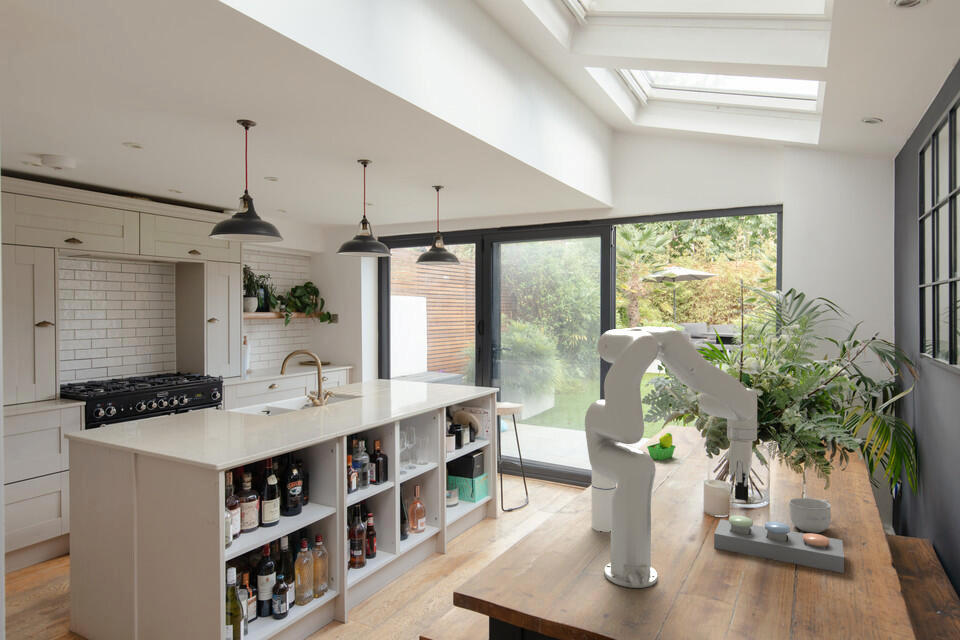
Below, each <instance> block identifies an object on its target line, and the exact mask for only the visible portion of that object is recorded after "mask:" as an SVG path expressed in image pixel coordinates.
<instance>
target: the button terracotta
mask: <svg viewBox="0 0 960 640" xmlns="http://www.w3.org/2000/svg"><path fill="white" fill-rule="evenodd" d="M828 538H829V537H828V536H825V535H822V534H819V533H813V532H807V533H804V535H803V541H804V542H806V545H807V546H813V547H819V548H824V549H826V546H828V545H829V539H828Z"/></svg>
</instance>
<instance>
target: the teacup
mask: <svg viewBox="0 0 960 640" xmlns="http://www.w3.org/2000/svg"><path fill="white" fill-rule="evenodd" d="M788 503H789V516H790V521H791V522H792V524H793V525H794V526H796V528H798V529H799V530H800V531H802V532H807V533H813V534H819V533H822V532H824V531H826V530H828V528H829V527H831V523H832V514H831V508H832V507H831V506H832V504H830V502H829V501H828V500H827V499H817V498H812V497H797V498H796V497H795V498H791V499H789V500H788Z"/></svg>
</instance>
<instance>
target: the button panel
mask: <svg viewBox="0 0 960 640" xmlns="http://www.w3.org/2000/svg"><path fill="white" fill-rule="evenodd" d="M717 524H718V525H716V526H717V527H716V529H715V531H714V532H713V533H714V535H713V542H714V543H713V548H714V549H716V550H717V549H718V550H724V551H726V552H727V551H728V552H733V553H738V554H742V555H749V556H753V557H759V558H763V559H769V560H773V561H774V560H775V561H779V562H785V563H790V564H796V565H800V566H804V567H810V568H813V569H814V568H815V569H818V570H819V569H820V570H826V571H831V572H835V573H841V574H845V553H844V545H843V540H842V539H838V538H833V537H827V538H828V539H829V545H828V546H826V549H824V548H819V547H813V546H807V545H806V542H804V541H803V535H804V534H805V533H803V532H799V531H798V532H797V531H791V530H790V532H789V533H787V542H785V541H780V540H774V539H768V530H766V529H765V526H762V525H755V524H753V526H751V527H750V535H746V534H740V533H735V532H731V524H730V523H729V519H728V520H727V519H722V518H721V519H719V522H718V523H717Z"/></svg>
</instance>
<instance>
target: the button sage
mask: <svg viewBox="0 0 960 640" xmlns="http://www.w3.org/2000/svg"><path fill="white" fill-rule="evenodd" d="M728 521H729V523H730V524H731V532H735V533H740V534H746V535H750V527H751V526H753V525H754V523H753V519H752V518H750V517H747V516H743V515H730V516H729V517H728Z"/></svg>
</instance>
